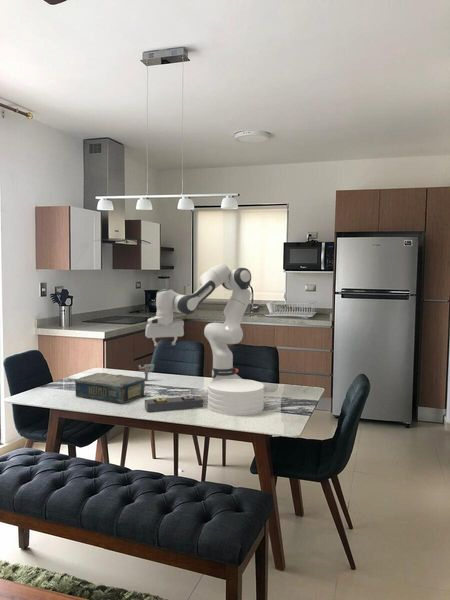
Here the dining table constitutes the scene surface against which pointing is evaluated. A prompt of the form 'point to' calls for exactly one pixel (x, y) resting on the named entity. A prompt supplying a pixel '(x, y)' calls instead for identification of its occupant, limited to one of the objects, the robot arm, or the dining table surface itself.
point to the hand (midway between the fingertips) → (164, 345)
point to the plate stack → (235, 396)
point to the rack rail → (173, 404)
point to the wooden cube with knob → (160, 400)
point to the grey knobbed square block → (187, 398)
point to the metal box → (110, 387)
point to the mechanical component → (146, 369)
